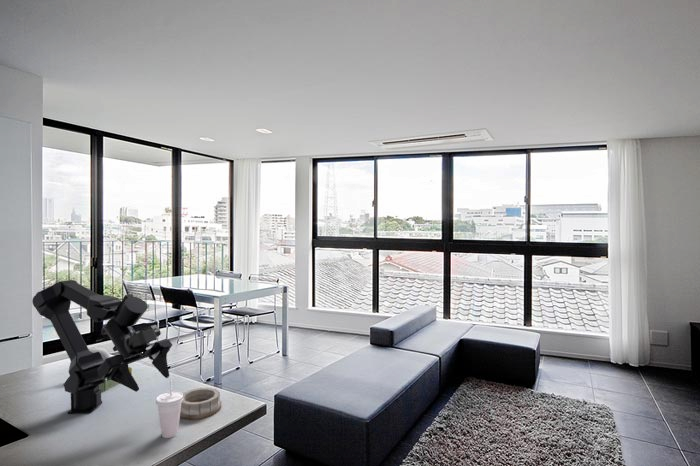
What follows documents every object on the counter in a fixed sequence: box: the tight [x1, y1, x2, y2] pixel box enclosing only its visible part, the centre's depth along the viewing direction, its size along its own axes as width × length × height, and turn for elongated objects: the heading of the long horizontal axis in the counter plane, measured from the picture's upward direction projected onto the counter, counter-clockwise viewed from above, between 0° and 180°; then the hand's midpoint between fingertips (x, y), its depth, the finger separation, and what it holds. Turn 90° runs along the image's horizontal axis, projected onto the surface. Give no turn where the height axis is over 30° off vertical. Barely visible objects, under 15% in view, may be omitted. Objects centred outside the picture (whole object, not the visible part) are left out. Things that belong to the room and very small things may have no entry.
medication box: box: [99, 366, 133, 393], centre depth 132 cm, size 12×3×4 cm, turn 168°
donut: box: [88, 347, 111, 361], centre depth 139 cm, size 10×3×10 cm, turn 140°
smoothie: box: [155, 378, 183, 439], centre depth 101 cm, size 6×6×14 cm
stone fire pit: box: [180, 387, 222, 421], centre depth 115 cm, size 12×12×4 cm
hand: (153, 383), depth 104 cm, fingers open, 9 cm apart
